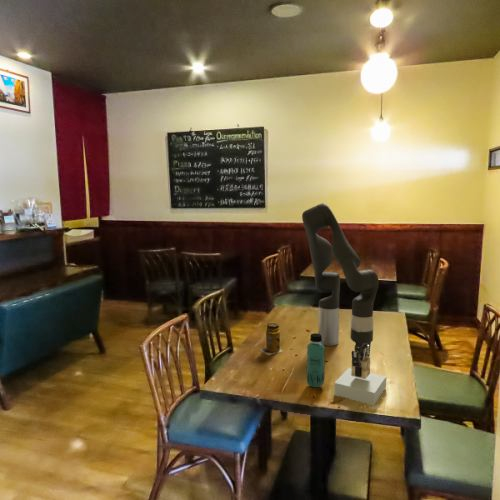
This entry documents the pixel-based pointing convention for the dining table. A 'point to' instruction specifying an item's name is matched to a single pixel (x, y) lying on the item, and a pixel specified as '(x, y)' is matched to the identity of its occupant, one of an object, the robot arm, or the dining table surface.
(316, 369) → the beverage bottle
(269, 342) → the condiment
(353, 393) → the base block
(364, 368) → the maple block
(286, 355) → the dining table surface
